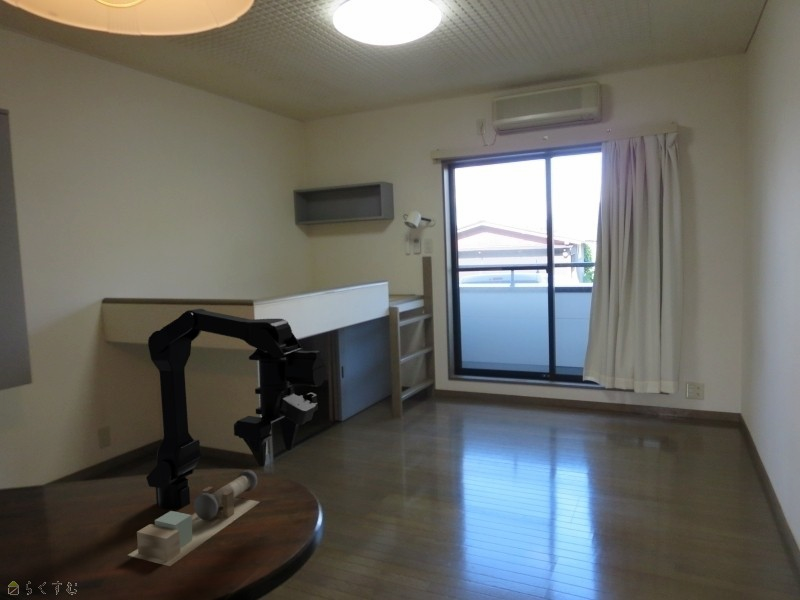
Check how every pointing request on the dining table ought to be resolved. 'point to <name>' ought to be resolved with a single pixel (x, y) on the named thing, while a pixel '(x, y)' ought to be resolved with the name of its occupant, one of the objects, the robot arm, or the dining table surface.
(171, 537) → the bench
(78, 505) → the dining table surface
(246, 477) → the shaft
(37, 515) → the dining table surface
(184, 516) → the block
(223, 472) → the dining table surface
